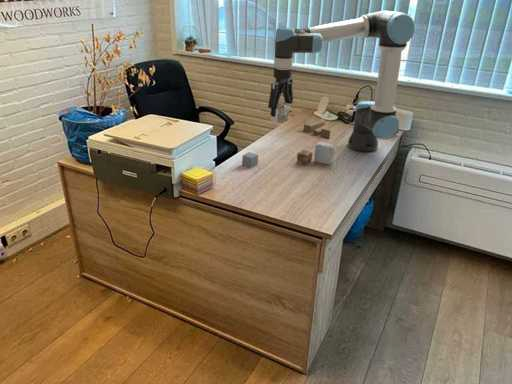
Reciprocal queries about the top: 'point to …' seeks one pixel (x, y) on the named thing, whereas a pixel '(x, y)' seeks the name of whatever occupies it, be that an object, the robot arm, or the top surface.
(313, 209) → the top surface
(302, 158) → the walnut cube
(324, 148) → the medicine box
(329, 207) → the top surface
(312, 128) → the wooden block set
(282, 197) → the top surface
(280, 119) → the game die
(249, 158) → the slate grey cube
